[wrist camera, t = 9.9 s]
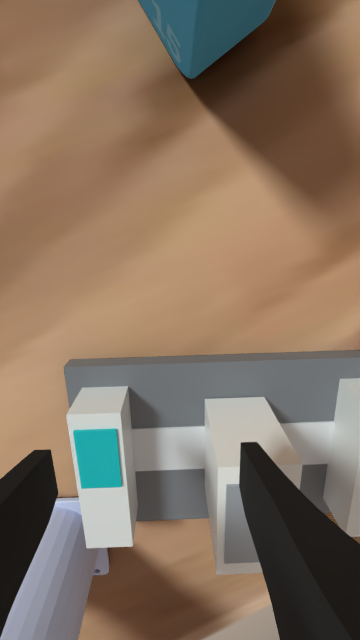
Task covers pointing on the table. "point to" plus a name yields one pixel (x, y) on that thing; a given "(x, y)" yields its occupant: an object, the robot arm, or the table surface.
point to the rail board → (189, 432)
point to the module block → (223, 474)
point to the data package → (203, 28)
